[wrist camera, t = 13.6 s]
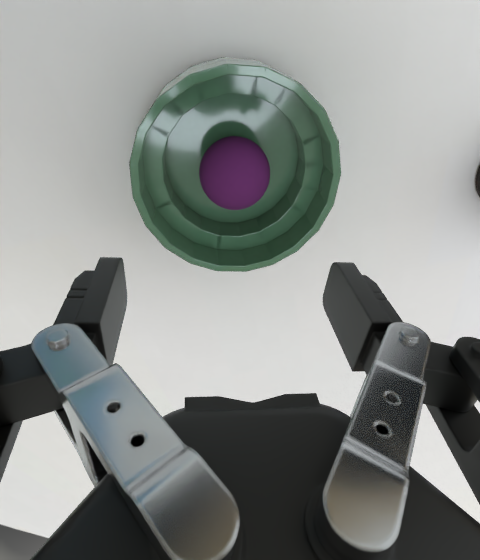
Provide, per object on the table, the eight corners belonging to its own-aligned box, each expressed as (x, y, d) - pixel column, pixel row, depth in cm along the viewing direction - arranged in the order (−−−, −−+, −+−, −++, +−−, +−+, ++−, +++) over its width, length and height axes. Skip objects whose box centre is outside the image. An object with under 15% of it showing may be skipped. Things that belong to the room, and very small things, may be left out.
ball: (198, 193, 32) (198, 221, 27) (199, 126, 29) (199, 145, 24) (260, 195, 33) (270, 223, 28) (268, 130, 29) (280, 149, 25)
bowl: (148, 235, 35) (139, 270, 30) (133, 49, 26) (117, 54, 21) (301, 239, 36) (317, 273, 31) (336, 66, 28) (365, 74, 23)
